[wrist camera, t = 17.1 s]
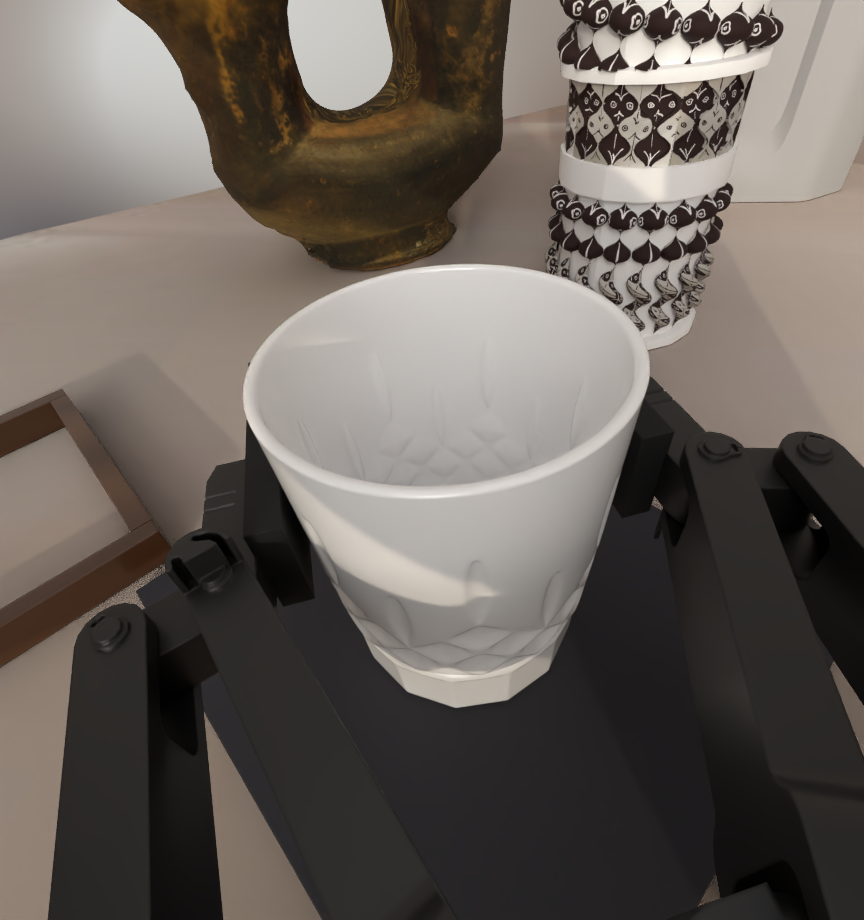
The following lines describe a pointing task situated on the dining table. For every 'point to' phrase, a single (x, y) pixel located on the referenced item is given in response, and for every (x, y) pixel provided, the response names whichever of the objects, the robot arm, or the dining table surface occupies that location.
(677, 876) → the mat
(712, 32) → the decorative candle
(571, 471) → the white cup
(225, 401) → the dining table surface
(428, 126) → the pottery vessel
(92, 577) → the wooden frame
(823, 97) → the white triangular vase
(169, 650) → the robot arm
